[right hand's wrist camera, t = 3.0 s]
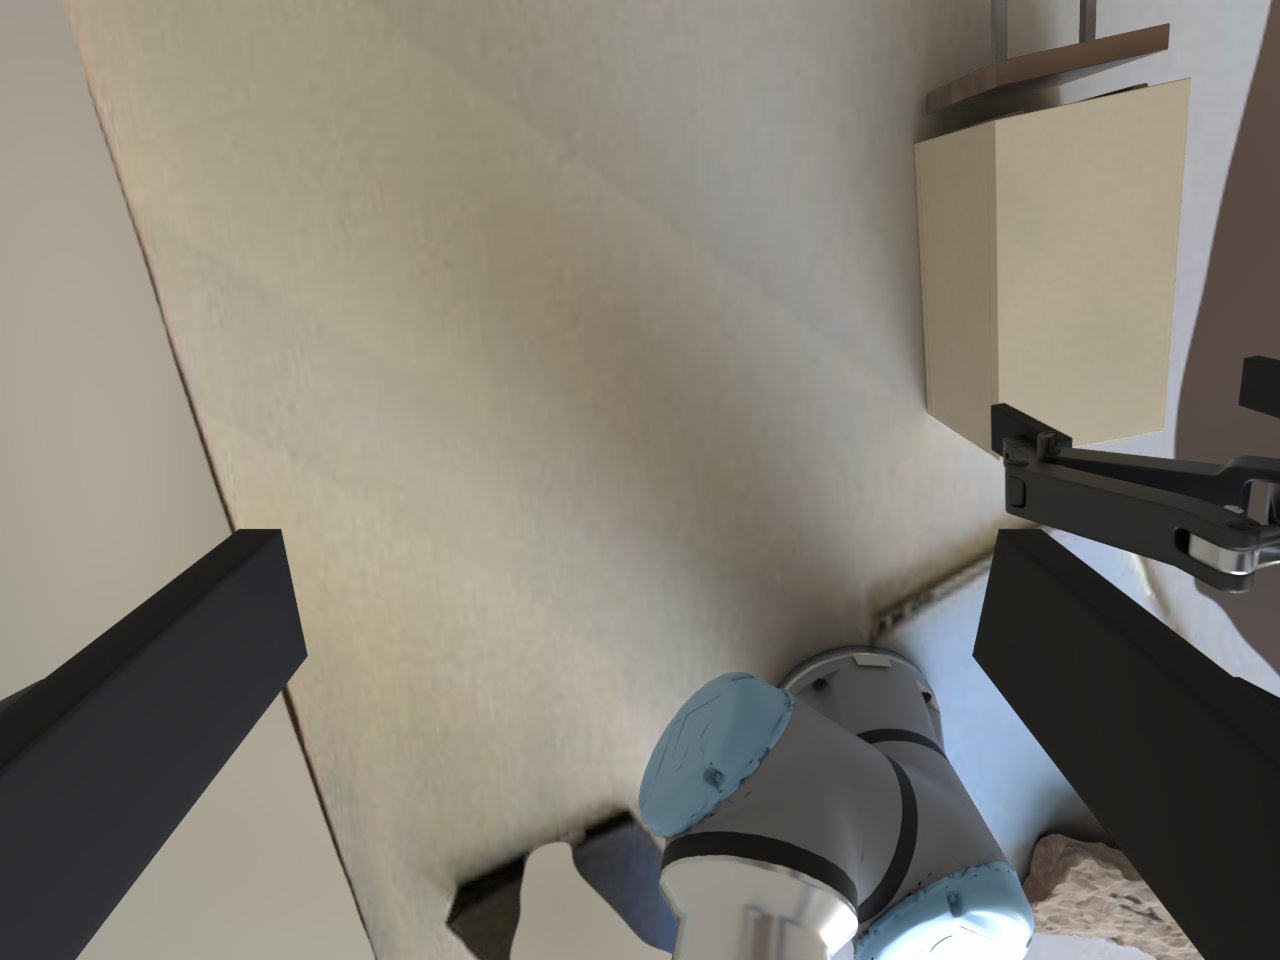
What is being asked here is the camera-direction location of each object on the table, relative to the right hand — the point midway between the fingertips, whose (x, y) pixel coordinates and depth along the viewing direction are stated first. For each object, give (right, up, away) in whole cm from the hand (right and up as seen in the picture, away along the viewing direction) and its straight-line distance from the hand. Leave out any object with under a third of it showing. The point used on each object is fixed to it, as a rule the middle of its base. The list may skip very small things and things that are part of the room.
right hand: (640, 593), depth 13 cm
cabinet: (+26, +17, +37) cm, 48 cm away
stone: (+50, -39, +58) cm, 86 cm away
